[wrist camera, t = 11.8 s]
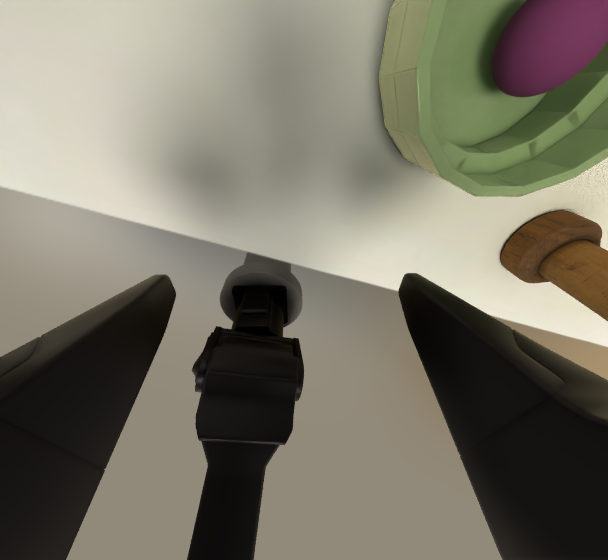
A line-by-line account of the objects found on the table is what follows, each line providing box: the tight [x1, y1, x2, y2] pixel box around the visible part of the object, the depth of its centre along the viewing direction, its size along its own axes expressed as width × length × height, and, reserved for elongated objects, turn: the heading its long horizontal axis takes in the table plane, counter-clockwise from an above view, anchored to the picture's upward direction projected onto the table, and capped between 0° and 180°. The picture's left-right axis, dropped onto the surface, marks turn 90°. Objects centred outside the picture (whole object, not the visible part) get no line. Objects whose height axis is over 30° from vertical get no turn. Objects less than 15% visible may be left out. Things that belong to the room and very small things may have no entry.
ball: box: [492, 0, 608, 97], centre depth 11 cm, size 4×4×4 cm
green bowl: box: [379, 0, 608, 197], centre depth 11 cm, size 13×13×6 cm
